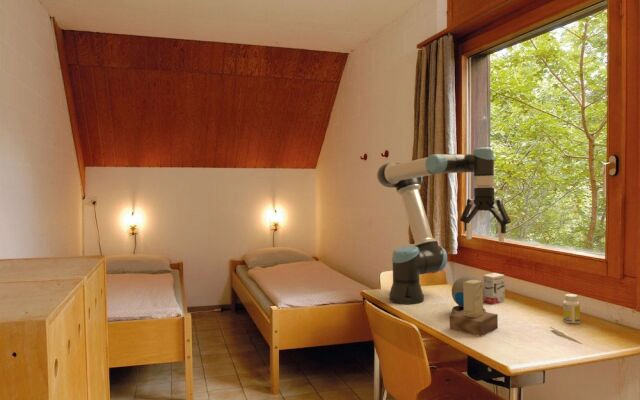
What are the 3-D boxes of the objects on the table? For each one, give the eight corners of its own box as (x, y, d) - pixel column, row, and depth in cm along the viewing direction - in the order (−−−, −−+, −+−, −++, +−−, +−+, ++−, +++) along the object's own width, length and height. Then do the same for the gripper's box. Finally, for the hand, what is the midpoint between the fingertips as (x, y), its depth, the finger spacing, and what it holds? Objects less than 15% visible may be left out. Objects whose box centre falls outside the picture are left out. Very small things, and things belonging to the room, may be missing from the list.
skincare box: (474, 318, 166) (474, 283, 166) (463, 315, 169) (462, 281, 169) (483, 314, 170) (483, 280, 170) (472, 312, 174) (471, 279, 173)
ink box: (492, 304, 201) (492, 276, 201) (482, 302, 206) (482, 274, 205) (505, 301, 206) (505, 274, 206) (495, 299, 210) (495, 272, 210)
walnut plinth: (449, 329, 171) (449, 315, 171) (467, 321, 179) (466, 308, 179) (480, 336, 162) (480, 321, 162) (497, 328, 170) (497, 314, 170)
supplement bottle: (578, 319, 177) (578, 293, 177) (581, 324, 172) (581, 297, 172) (562, 318, 179) (562, 293, 179) (564, 323, 174) (564, 296, 174)
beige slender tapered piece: (547, 330, 167) (547, 325, 166) (553, 329, 167) (554, 324, 167) (578, 347, 152) (579, 341, 152) (586, 346, 153) (586, 340, 152)
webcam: (491, 312, 190) (491, 275, 189) (477, 320, 180) (476, 280, 180) (461, 307, 199) (460, 271, 198) (445, 314, 189) (445, 276, 189)
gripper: (519, 186, 182) (520, 241, 183) (460, 186, 200) (461, 237, 201) (510, 187, 177) (511, 244, 178) (450, 187, 195) (451, 239, 196)
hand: (484, 240), depth 189 cm, fingers open, 13 cm apart
